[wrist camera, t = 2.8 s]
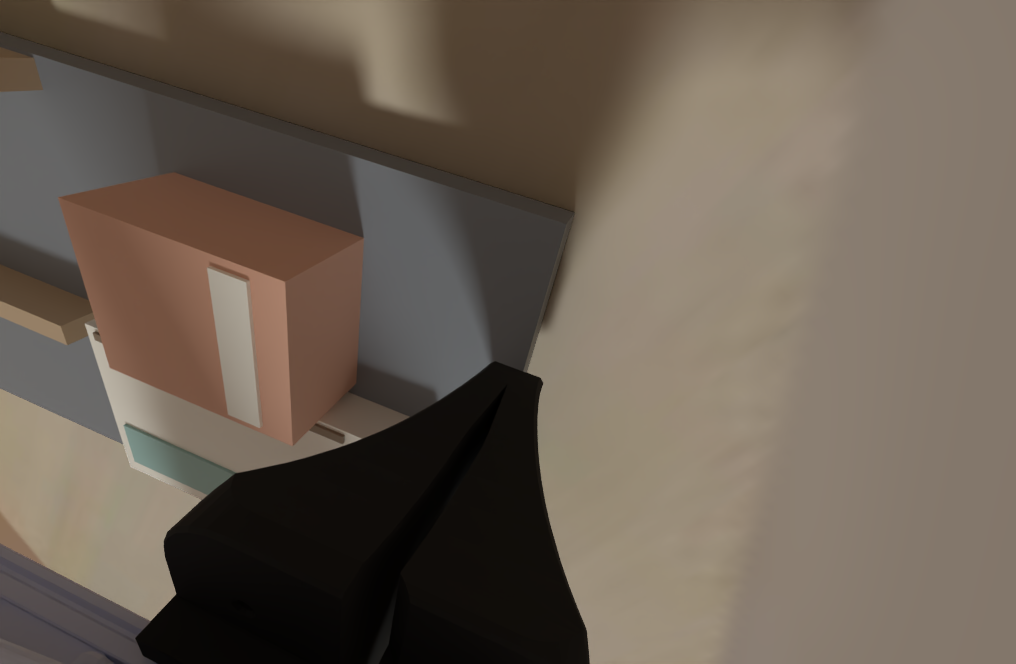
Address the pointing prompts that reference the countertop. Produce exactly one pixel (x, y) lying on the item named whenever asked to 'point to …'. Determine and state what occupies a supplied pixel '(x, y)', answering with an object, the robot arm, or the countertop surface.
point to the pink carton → (221, 299)
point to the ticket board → (276, 182)
